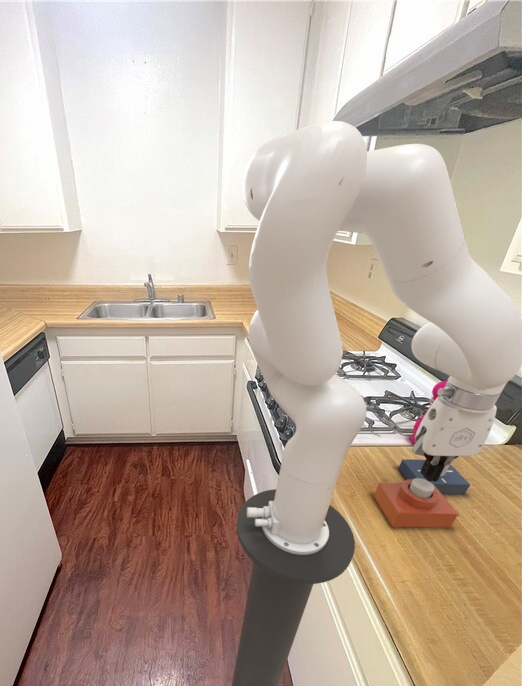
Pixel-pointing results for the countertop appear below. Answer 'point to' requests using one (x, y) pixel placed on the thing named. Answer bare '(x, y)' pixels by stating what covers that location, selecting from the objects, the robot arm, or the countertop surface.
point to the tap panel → (445, 484)
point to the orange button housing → (413, 506)
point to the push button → (421, 488)
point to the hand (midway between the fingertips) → (428, 476)
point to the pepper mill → (435, 395)
